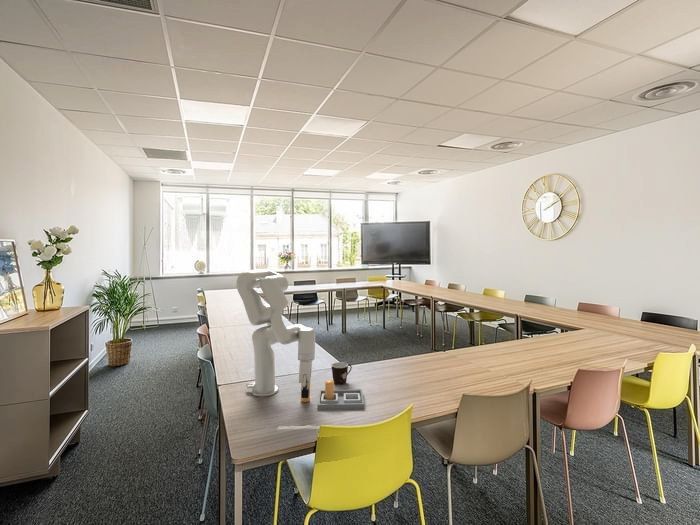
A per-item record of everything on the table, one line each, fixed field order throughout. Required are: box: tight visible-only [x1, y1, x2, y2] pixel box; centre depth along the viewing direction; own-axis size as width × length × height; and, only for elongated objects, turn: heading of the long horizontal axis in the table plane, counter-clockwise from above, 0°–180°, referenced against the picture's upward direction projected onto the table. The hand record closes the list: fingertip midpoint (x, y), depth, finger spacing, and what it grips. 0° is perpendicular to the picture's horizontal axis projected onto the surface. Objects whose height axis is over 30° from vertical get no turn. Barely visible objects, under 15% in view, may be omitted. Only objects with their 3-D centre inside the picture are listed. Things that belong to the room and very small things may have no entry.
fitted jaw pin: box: [324, 379, 335, 400], centre depth 152 cm, size 4×4×9 cm
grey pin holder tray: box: [316, 389, 365, 411], centre depth 153 cm, size 20×15×3 cm
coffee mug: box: [331, 361, 353, 386], centre depth 175 cm, size 12×9×10 cm
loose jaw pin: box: [300, 381, 311, 403], centre depth 153 cm, size 4×4×9 cm
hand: (305, 394), depth 153 cm, fingers closed on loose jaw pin, 4 cm apart
